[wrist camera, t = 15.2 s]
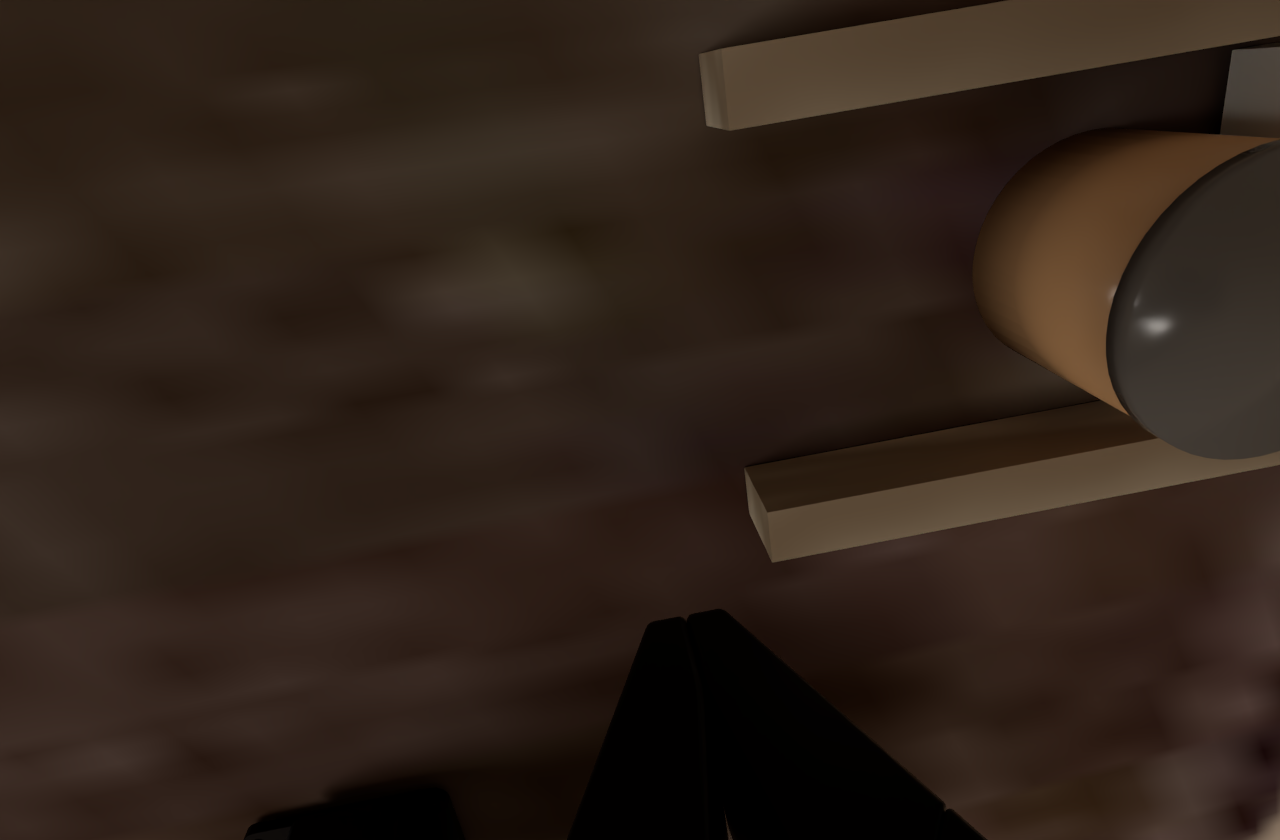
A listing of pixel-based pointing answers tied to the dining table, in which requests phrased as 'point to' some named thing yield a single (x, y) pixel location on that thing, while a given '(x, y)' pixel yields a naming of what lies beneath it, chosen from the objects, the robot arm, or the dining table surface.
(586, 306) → the dining table surface
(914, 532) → the tan piece
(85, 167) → the dining table surface
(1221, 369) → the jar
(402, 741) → the dining table surface
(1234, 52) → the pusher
